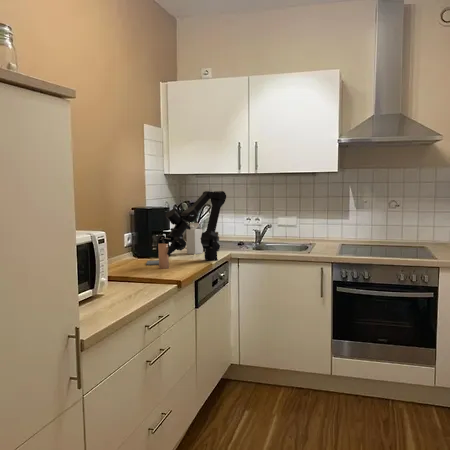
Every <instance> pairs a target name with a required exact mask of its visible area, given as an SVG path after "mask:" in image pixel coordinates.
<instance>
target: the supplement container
mask: <svg viewBox="0 0 450 450" xmlns="http://www.w3.org/2000/svg"><path fill="white" fill-rule="evenodd" d="M215 233H216V237H217V239H216V241H217V242H218V244H219V245H220V236H219V231H215ZM205 251H206V249H203V252H205ZM219 251H220V248H219V249H218V250H217V252H219Z"/></svg>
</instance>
